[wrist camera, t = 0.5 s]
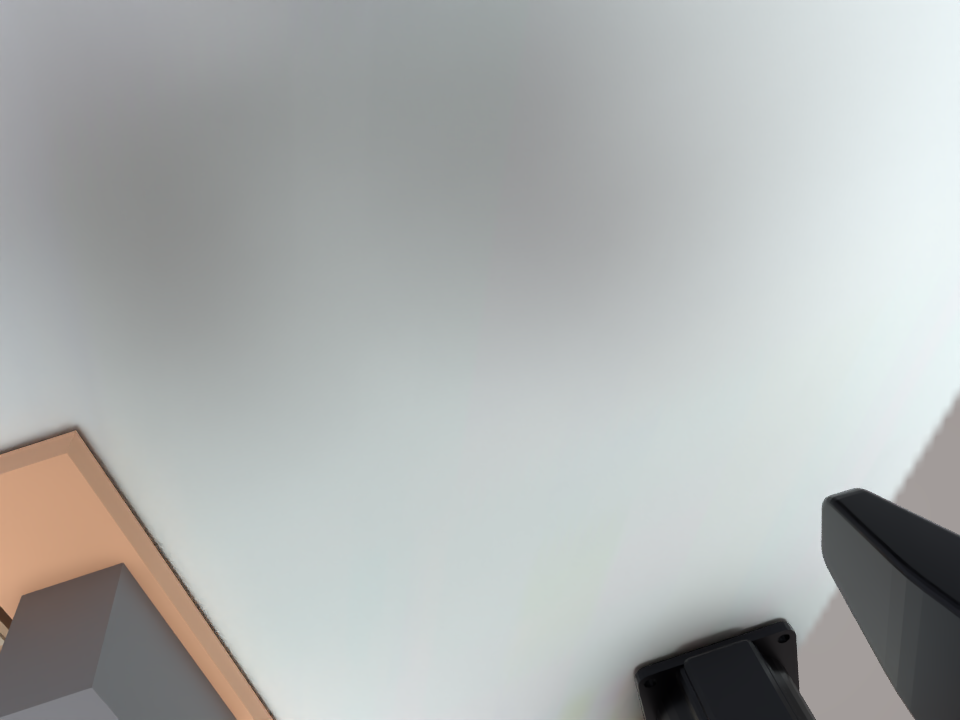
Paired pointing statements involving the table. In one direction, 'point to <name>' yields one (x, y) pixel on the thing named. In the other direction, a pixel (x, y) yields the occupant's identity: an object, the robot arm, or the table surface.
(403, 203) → the table surface
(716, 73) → the table surface
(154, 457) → the table surface
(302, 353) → the table surface
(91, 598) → the stub
